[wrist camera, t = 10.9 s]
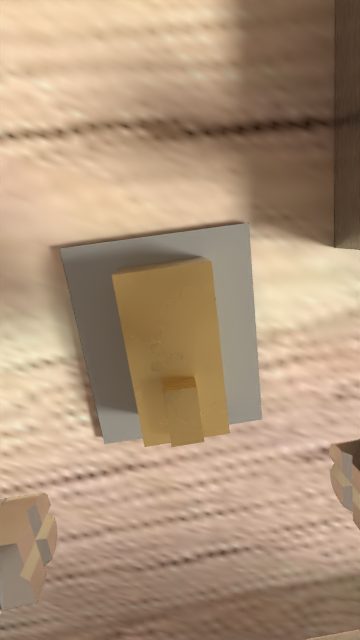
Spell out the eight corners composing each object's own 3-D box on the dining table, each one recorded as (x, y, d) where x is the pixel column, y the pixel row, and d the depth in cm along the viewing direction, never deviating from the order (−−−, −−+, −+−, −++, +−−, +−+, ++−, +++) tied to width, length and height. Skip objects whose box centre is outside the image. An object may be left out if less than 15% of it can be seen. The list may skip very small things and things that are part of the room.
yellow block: (218, 403, 19) (234, 445, 16) (146, 414, 19) (143, 460, 15) (202, 256, 17) (215, 263, 13) (119, 268, 17) (108, 278, 13)
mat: (259, 414, 21) (261, 419, 20) (106, 438, 20) (104, 444, 20) (245, 223, 17) (248, 222, 17) (62, 247, 17) (59, 248, 16)
